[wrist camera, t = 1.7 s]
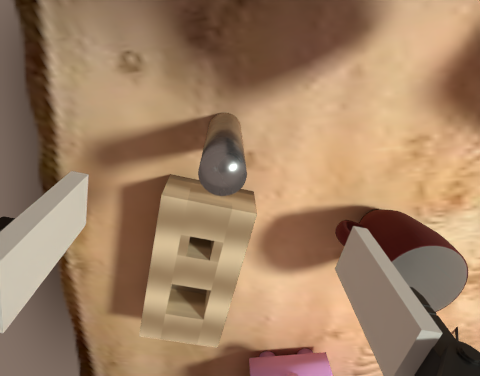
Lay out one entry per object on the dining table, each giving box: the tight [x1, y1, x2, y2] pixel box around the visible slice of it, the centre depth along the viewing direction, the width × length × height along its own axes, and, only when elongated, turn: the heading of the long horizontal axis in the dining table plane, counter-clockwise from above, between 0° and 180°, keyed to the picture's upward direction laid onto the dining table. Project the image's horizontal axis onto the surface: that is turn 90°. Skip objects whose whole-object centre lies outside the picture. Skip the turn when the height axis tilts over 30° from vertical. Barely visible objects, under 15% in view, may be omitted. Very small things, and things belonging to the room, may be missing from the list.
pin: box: [198, 113, 247, 196], centre depth 28 cm, size 3×3×12 cm
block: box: [139, 174, 257, 348], centre depth 37 cm, size 18×9×5 cm, turn 167°
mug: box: [335, 210, 468, 312], centre depth 34 cm, size 11×8×10 cm
